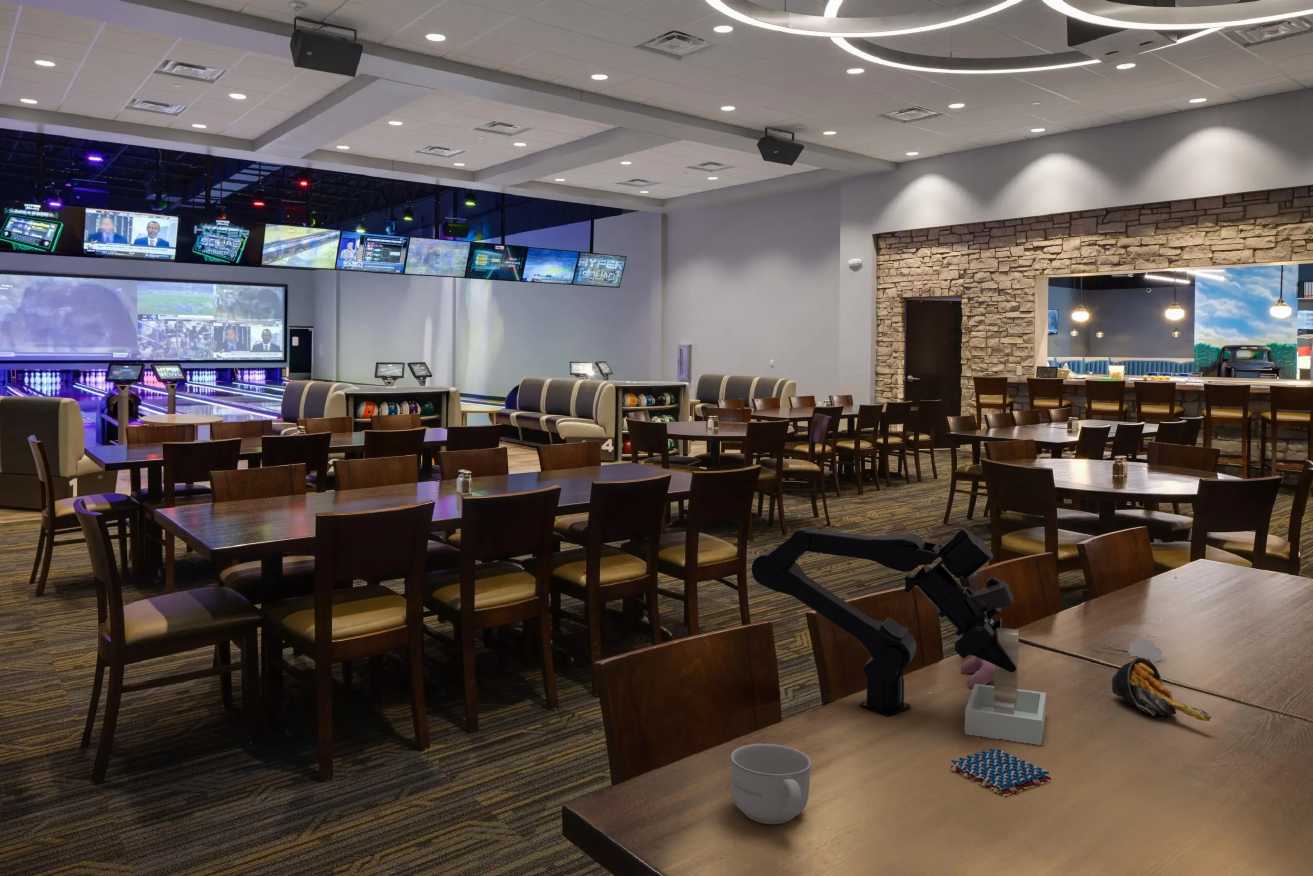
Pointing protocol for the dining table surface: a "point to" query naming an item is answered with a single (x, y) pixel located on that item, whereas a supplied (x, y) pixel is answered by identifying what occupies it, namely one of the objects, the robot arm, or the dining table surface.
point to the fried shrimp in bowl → (1149, 690)
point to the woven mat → (1000, 771)
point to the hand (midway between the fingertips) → (1015, 667)
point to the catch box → (1006, 716)
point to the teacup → (770, 782)
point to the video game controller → (984, 671)
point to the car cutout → (1145, 650)
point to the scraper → (1007, 673)
